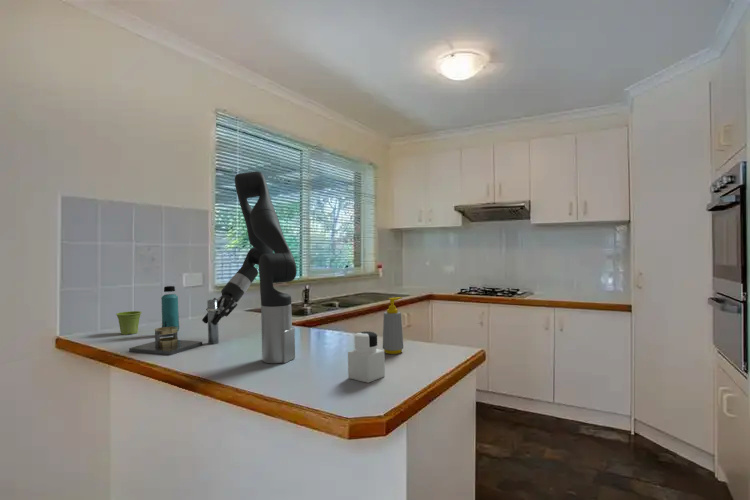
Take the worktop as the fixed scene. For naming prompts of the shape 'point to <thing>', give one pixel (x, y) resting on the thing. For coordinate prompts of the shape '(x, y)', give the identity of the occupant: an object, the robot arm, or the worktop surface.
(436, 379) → the worktop surface
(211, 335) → the glossy dome-topped cylinder
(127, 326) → the plant pot
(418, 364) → the worktop surface
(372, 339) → the medicine bottle
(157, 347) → the dark square plate
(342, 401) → the worktop surface
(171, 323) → the beverage bottle
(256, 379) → the worktop surface
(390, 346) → the soap bottle
